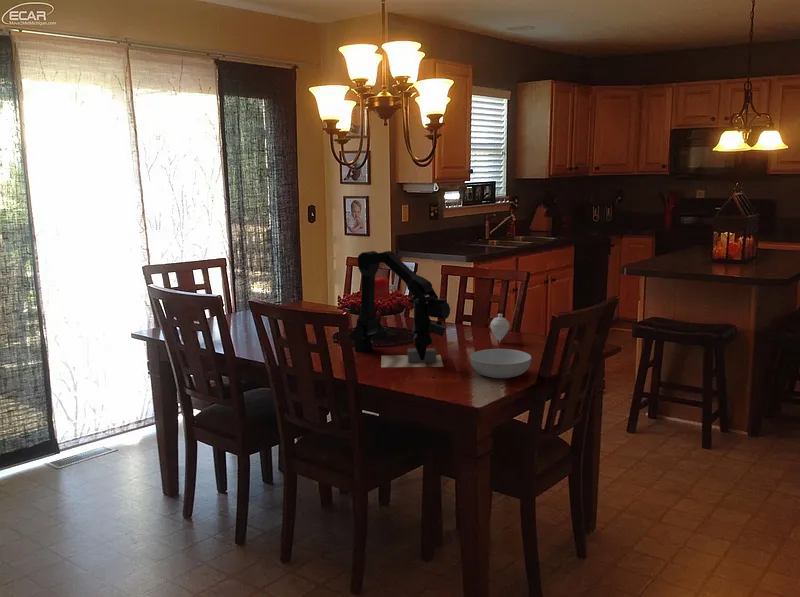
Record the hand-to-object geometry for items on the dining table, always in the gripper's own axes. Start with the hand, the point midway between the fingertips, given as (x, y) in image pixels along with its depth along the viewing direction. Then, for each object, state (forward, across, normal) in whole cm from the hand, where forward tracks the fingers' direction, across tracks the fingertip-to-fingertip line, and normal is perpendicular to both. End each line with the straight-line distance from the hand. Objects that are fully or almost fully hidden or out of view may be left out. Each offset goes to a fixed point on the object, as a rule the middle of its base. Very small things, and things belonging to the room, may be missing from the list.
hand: (421, 357), depth 262 cm
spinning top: (+3, +32, -33) cm, 46 cm away
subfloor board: (+3, 0, +4) cm, 5 cm away
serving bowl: (+3, -14, -26) cm, 30 cm away
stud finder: (+1, 0, 0) cm, 1 cm away
